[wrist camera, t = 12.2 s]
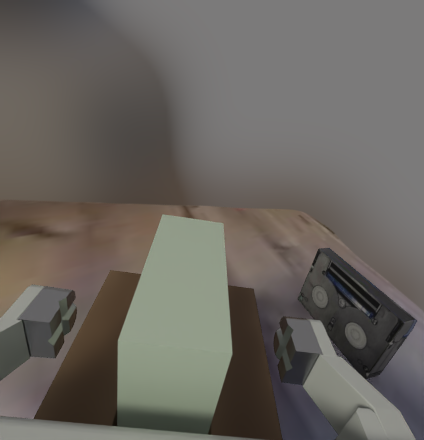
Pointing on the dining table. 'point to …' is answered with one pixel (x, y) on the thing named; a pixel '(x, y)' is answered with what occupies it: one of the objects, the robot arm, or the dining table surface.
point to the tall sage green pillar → (176, 331)
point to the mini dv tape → (354, 313)
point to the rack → (108, 368)
